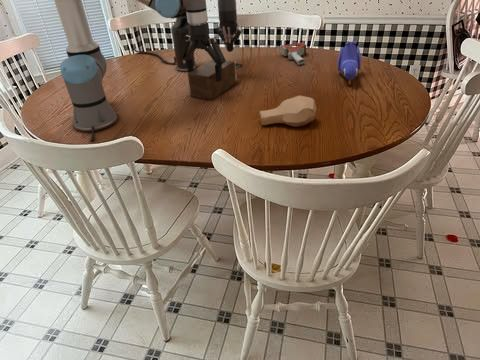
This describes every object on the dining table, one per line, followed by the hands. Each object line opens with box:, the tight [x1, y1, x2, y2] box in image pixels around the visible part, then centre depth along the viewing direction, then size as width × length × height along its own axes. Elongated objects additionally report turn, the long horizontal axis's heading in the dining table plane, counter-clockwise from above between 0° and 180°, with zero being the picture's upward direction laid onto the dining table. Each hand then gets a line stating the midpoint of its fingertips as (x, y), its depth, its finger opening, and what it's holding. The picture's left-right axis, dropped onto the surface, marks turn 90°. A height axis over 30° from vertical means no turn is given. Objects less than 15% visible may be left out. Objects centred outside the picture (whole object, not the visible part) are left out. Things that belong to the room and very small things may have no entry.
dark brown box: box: [187, 59, 237, 101], centre depth 151 cm, size 20×10×10 cm, turn 150°
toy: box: [336, 40, 362, 86], centre depth 151 cm, size 10×17×25 cm
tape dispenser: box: [279, 42, 307, 66], centre depth 180 cm, size 18×5×20 cm
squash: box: [258, 94, 318, 128], centre depth 122 cm, size 11×20×9 cm, turn 92°
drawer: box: [234, 61, 243, 81], centre depth 154 cm, size 24×9×8 cm, turn 150°
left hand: (205, 78), depth 145 cm, fingers open, 13 cm apart
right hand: (230, 51), depth 157 cm, fingers closed
